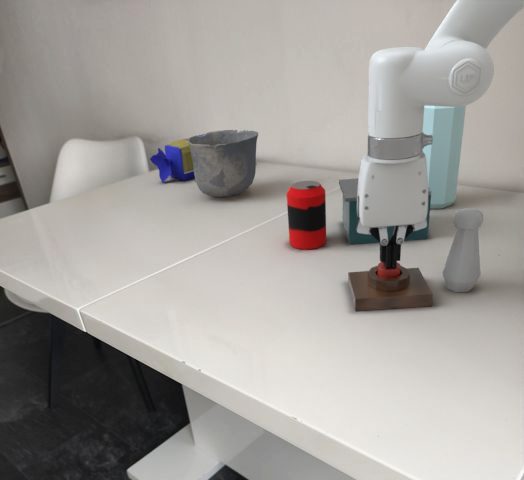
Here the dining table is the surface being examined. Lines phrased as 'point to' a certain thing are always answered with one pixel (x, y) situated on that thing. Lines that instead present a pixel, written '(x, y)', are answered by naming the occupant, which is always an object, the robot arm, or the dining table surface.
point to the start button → (388, 271)
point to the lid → (353, 189)
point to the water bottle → (443, 152)
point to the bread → (175, 161)
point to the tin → (358, 238)
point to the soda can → (306, 215)
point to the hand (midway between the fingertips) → (389, 265)
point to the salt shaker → (464, 252)
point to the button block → (389, 290)
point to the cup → (224, 161)
